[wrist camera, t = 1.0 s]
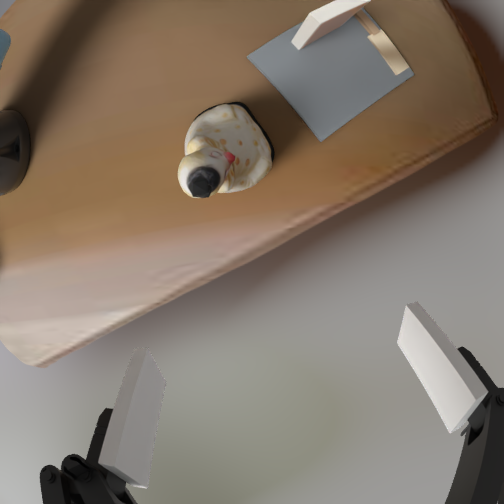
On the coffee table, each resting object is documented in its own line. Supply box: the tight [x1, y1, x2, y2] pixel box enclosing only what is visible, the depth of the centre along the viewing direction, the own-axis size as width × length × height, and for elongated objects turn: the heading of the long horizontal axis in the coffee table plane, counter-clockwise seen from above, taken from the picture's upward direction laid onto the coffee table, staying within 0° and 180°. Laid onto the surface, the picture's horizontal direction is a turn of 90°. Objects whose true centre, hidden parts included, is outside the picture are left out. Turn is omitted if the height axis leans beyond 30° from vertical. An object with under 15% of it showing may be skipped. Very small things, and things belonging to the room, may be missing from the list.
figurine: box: [178, 102, 274, 198], centre depth 24 cm, size 12×10×20 cm
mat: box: [247, 7, 414, 142], centre depth 28 cm, size 15×20×1 cm
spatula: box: [353, 9, 409, 75], centre depth 25 cm, size 15×3×1 cm, turn 40°
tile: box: [291, 0, 371, 50], centre depth 22 cm, size 2×8×10 cm, turn 130°
